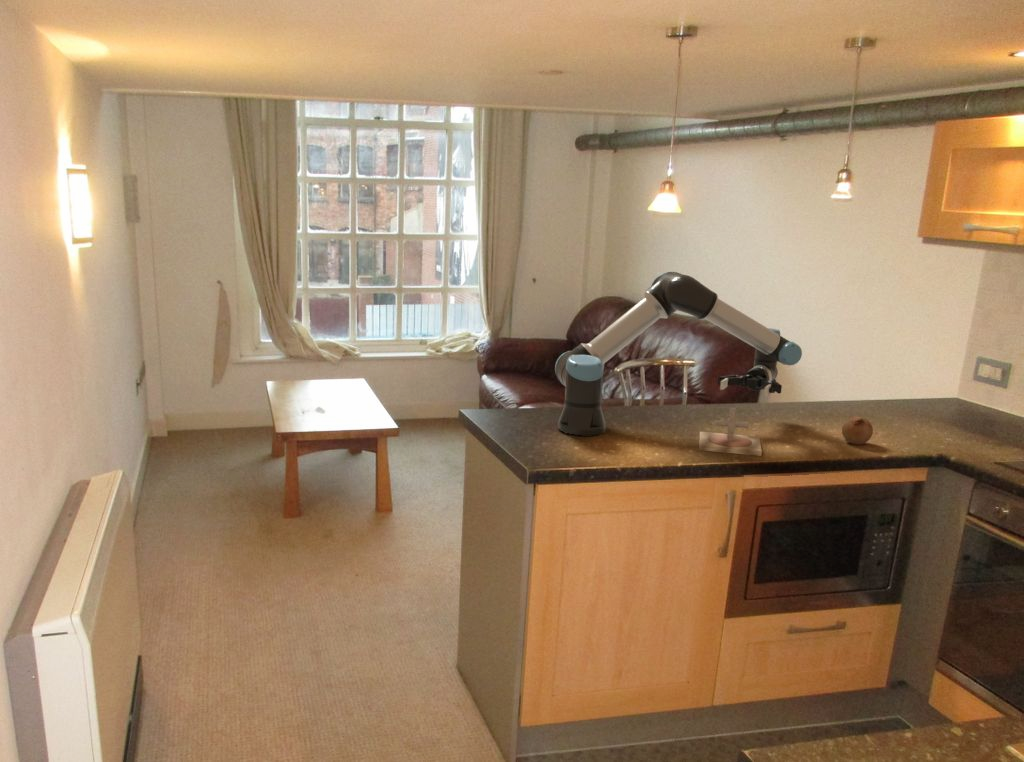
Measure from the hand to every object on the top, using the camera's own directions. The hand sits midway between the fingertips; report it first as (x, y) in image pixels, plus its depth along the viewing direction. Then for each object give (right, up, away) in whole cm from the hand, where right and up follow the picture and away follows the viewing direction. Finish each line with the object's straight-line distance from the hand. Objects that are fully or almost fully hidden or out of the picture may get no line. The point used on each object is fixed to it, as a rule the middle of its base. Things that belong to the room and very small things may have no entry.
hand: (743, 388), depth 254 cm
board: (-6, -17, -5) cm, 19 cm away
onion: (+36, -17, +2) cm, 40 cm away
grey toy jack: (-6, -16, -5) cm, 18 cm away
